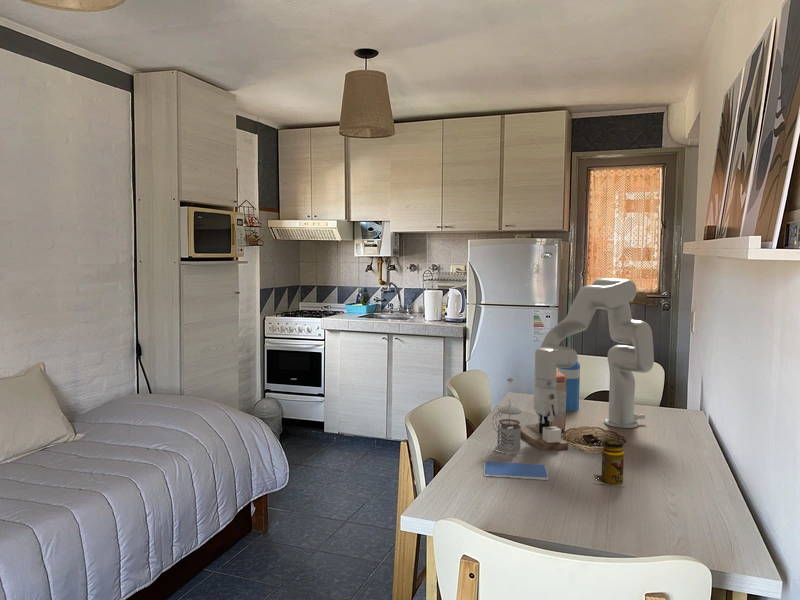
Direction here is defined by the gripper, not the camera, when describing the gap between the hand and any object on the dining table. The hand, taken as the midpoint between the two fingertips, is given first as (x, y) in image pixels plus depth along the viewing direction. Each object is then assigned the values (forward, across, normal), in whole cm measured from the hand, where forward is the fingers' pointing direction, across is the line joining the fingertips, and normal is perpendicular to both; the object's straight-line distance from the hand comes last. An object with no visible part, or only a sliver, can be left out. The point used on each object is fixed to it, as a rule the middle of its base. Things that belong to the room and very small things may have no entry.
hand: (544, 433), depth 212 cm
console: (+3, +4, 0) cm, 5 cm away
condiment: (+4, -38, -1) cm, 38 cm away
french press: (+3, -4, +16) cm, 17 cm away
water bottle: (+3, +43, -34) cm, 55 cm away
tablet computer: (+4, -25, +22) cm, 34 cm away
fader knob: (+1, -6, 0) cm, 6 cm away
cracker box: (+4, +20, -14) cm, 24 cm away
